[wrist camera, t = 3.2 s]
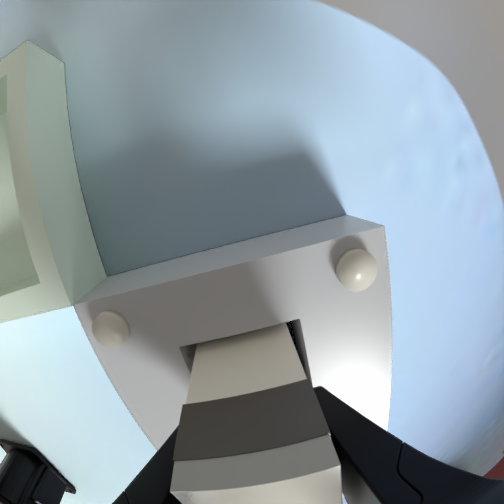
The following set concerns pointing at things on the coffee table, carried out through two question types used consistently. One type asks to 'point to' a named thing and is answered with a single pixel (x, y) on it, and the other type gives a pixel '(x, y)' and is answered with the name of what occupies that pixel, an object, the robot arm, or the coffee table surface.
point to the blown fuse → (253, 427)
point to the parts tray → (40, 192)
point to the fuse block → (250, 316)
